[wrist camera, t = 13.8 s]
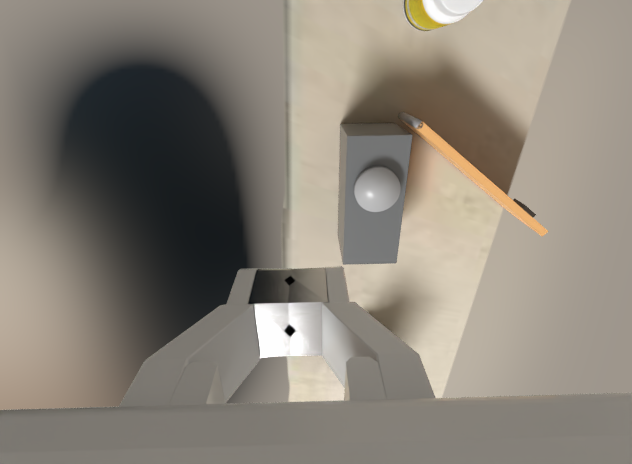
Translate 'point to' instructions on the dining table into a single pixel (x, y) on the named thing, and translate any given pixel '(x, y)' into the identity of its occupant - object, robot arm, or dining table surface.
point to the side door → (473, 173)
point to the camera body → (372, 191)
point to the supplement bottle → (436, 12)
